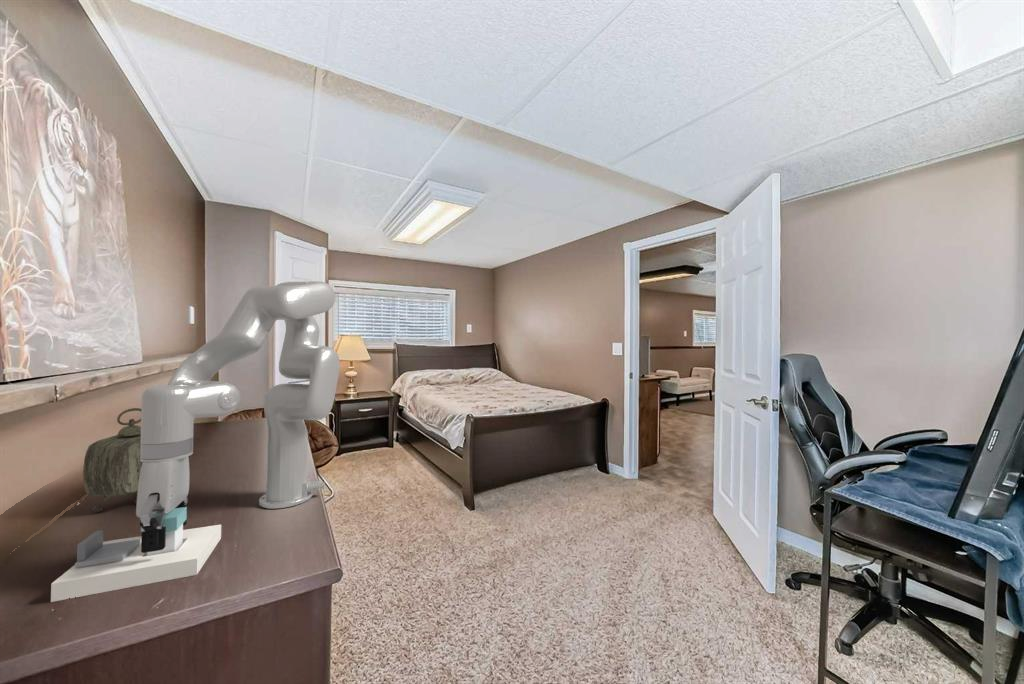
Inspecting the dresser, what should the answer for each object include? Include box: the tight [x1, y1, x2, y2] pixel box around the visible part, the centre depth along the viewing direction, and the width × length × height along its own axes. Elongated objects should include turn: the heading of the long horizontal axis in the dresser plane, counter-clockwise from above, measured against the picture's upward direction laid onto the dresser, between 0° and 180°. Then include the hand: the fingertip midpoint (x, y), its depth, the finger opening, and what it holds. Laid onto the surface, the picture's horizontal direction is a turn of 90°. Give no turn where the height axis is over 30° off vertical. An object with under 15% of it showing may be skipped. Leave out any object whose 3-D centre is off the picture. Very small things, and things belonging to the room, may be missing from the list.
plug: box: [147, 506, 188, 556], centre depth 72 cm, size 5×5×10 cm
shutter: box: [74, 529, 140, 568], centre depth 69 cm, size 6×6×4 cm
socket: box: [50, 524, 222, 603], centre depth 71 cm, size 19×14×3 cm
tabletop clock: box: [82, 407, 143, 513], centre depth 98 cm, size 14×9×25 cm, turn 178°
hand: (165, 537), depth 72 cm, fingers open, 9 cm apart
